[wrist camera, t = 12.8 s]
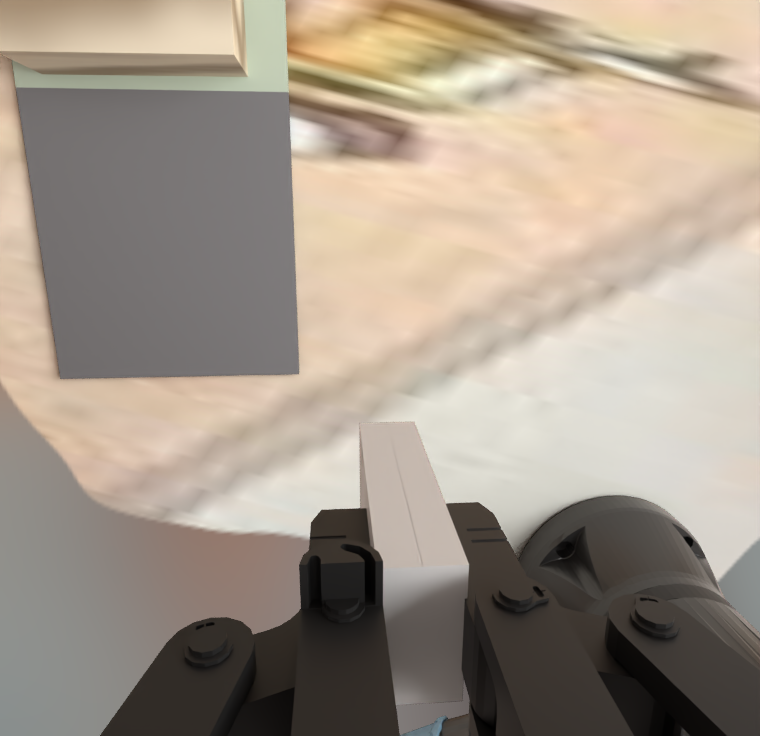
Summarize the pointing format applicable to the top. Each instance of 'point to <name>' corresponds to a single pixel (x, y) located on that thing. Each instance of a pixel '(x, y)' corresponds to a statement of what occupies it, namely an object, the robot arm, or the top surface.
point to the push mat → (168, 215)
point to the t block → (126, 37)
